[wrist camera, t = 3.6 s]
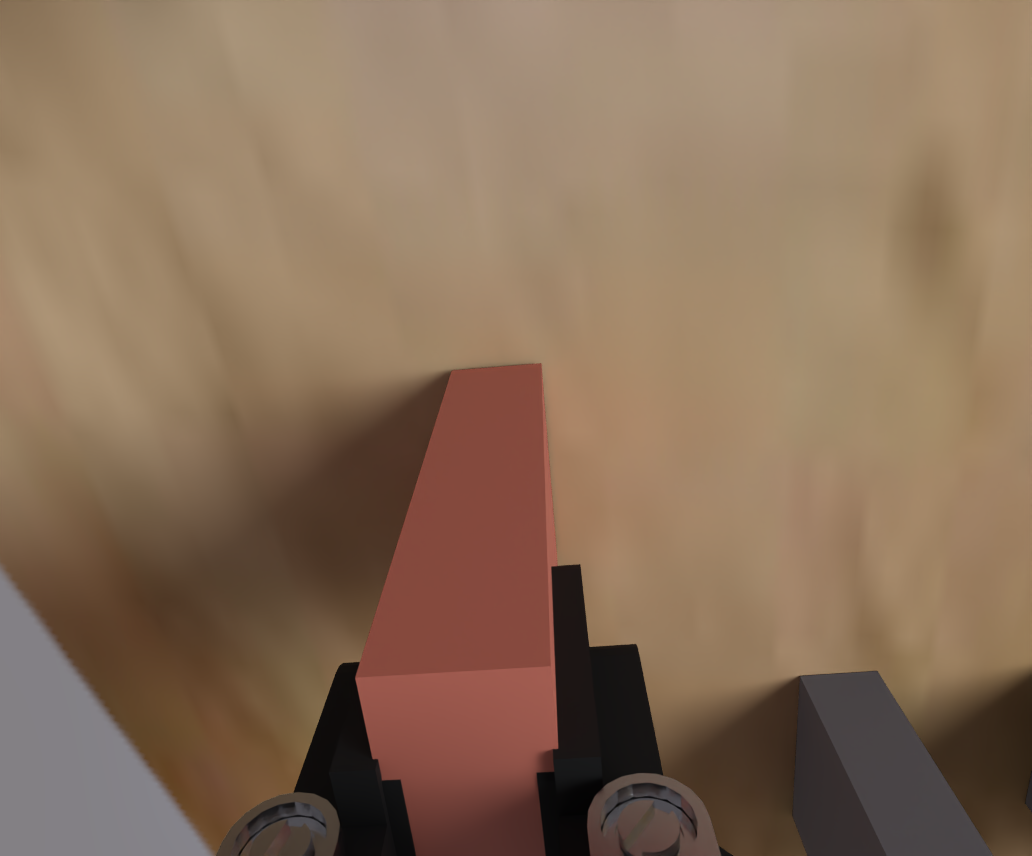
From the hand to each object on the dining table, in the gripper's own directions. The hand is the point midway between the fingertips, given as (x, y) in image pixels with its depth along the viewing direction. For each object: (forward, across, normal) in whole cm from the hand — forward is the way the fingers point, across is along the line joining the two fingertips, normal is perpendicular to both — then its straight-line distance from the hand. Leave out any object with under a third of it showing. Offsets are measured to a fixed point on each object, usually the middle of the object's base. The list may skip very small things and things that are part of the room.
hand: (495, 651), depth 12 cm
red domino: (+6, 0, 0) cm, 6 cm away
